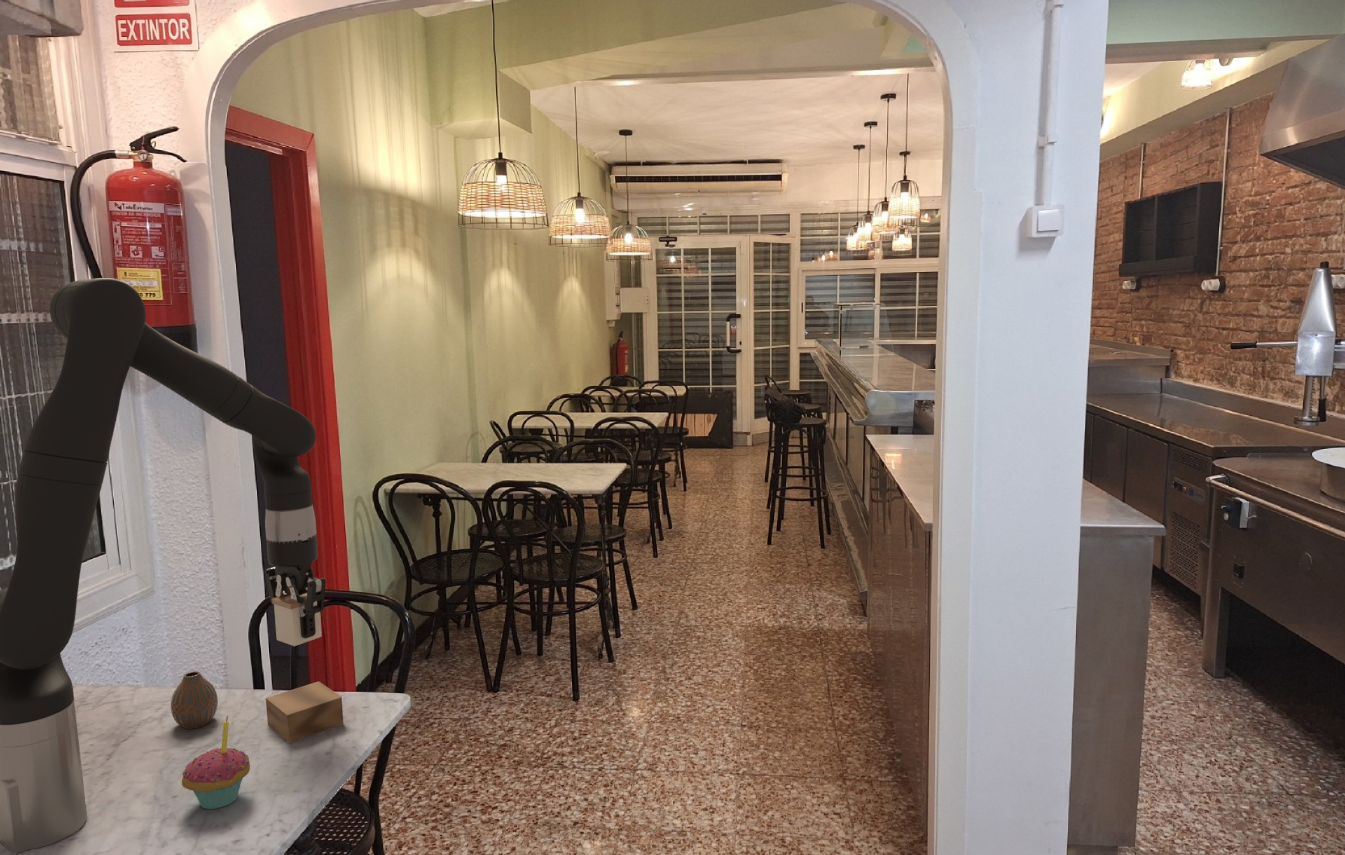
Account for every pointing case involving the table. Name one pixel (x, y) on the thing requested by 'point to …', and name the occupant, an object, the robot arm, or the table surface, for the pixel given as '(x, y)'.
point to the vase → (194, 701)
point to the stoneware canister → (292, 621)
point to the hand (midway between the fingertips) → (298, 632)
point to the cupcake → (217, 774)
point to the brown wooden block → (304, 711)
